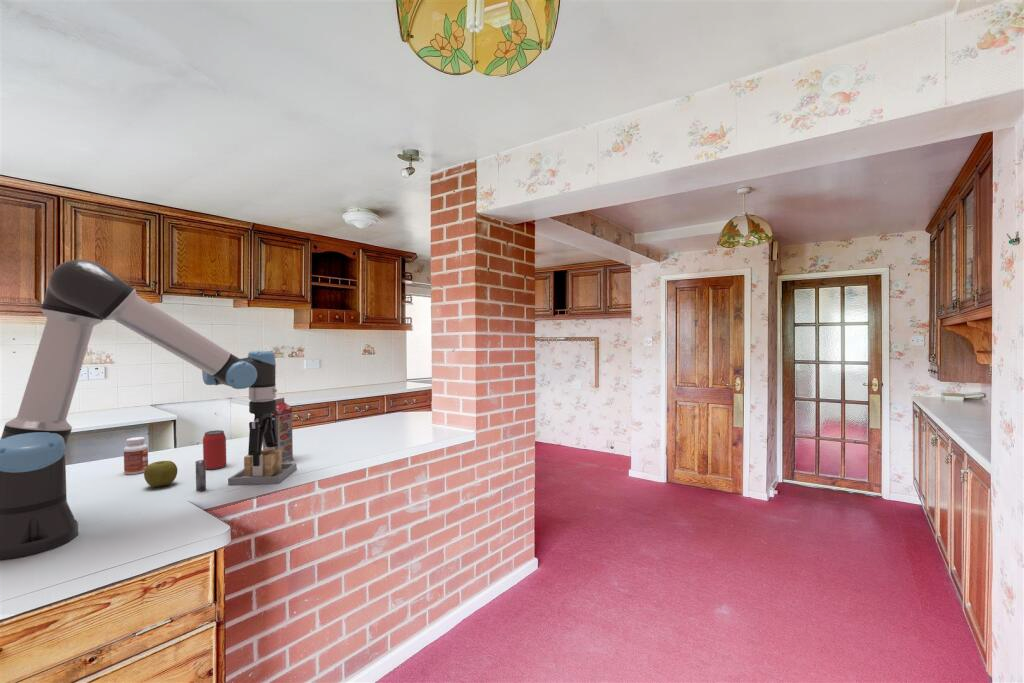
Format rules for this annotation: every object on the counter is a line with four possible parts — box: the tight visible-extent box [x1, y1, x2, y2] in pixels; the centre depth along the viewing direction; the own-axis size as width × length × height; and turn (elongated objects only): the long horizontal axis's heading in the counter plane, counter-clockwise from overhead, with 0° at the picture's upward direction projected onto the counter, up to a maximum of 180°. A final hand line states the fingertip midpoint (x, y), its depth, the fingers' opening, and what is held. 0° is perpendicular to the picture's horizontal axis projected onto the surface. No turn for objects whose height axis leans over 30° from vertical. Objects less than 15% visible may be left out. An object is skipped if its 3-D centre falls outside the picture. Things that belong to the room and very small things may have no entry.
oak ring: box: [243, 449, 282, 476], centre depth 148 cm, size 8×8×6 cm
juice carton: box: [262, 397, 294, 463], centre depth 166 cm, size 7×7×22 cm
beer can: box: [202, 429, 227, 471], centre depth 159 cm, size 7×7×12 cm
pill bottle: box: [123, 436, 149, 475], centre depth 154 cm, size 6×6×11 cm
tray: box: [227, 462, 298, 486], centre depth 149 cm, size 15×15×2 cm
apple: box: [143, 460, 178, 488], centre depth 140 cm, size 8×8×7 cm
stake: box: [195, 459, 207, 492], centre depth 136 cm, size 2×2×8 cm
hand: (264, 471), depth 149 cm, fingers closed on oak ring, 8 cm apart
